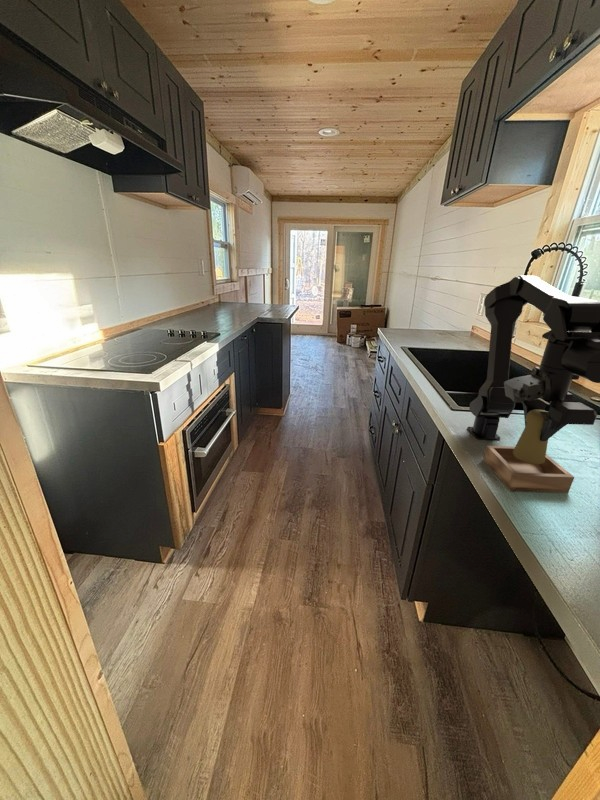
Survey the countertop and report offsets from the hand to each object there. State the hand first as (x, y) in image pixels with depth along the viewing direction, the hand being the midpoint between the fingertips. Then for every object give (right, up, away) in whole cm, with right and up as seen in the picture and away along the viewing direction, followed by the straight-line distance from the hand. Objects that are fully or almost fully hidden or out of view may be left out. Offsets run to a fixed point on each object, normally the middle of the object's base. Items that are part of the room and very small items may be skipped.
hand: (535, 434), depth 71 cm
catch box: (0, -10, +4) cm, 10 cm away
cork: (0, -5, +2) cm, 6 cm away
